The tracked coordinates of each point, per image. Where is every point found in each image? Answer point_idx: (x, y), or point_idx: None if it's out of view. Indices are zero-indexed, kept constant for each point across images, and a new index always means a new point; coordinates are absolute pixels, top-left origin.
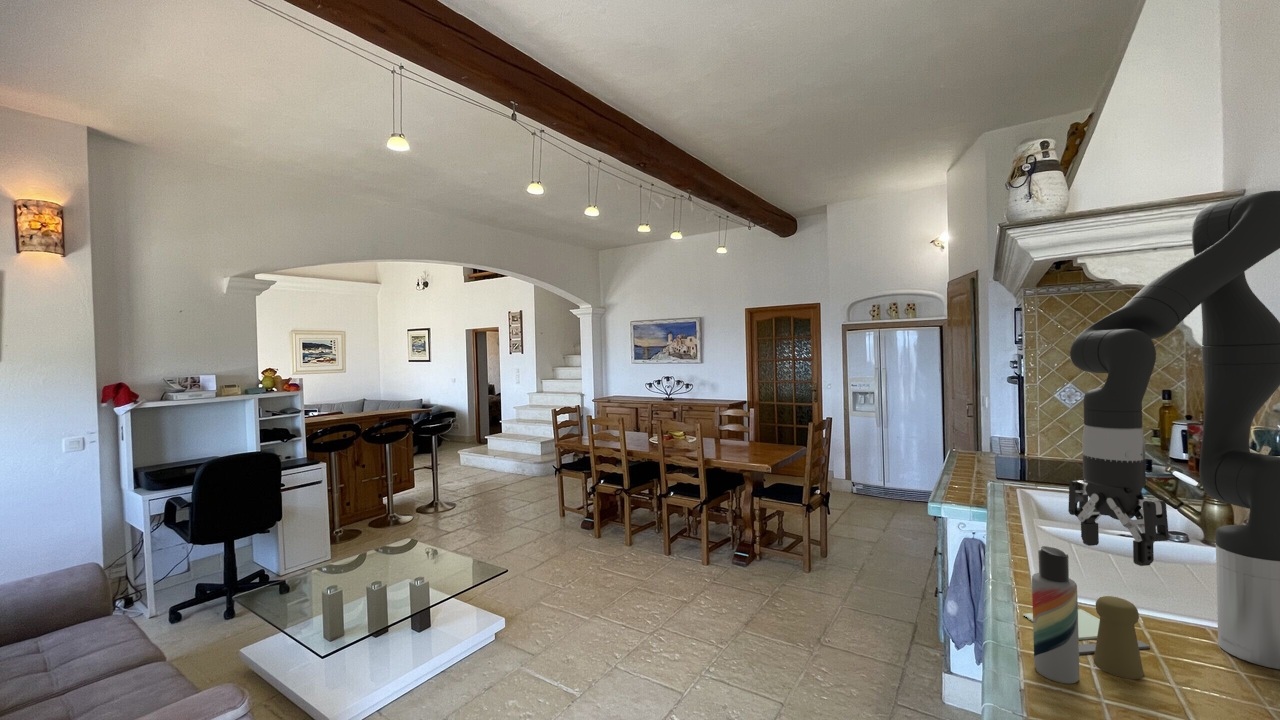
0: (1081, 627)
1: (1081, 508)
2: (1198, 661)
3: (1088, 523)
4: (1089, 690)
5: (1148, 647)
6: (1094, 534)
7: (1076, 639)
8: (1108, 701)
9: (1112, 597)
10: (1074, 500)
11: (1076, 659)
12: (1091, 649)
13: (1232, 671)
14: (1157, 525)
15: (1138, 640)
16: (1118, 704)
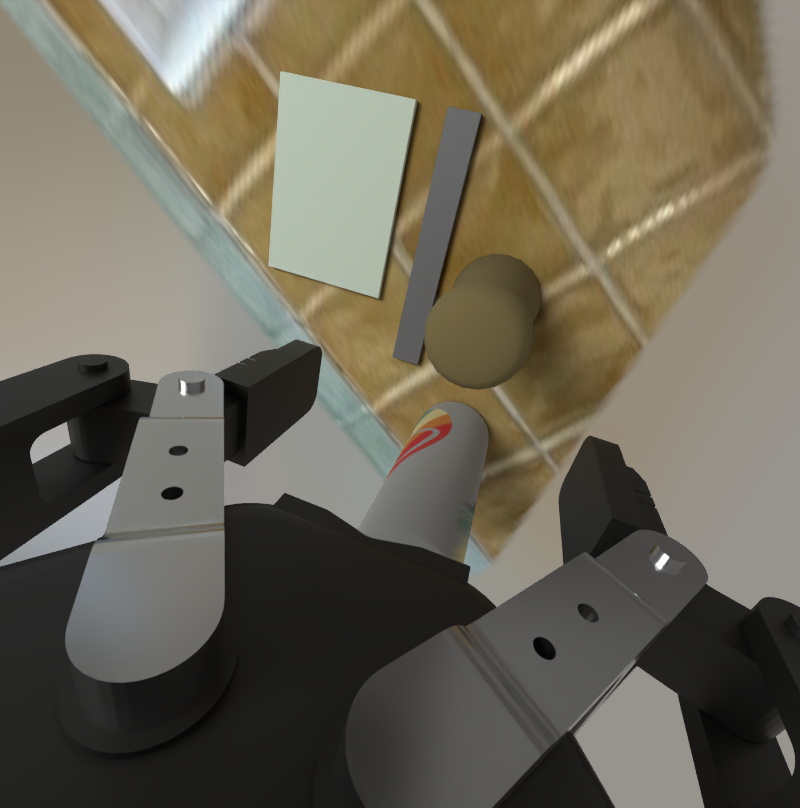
0: (354, 194)
1: (89, 421)
2: (582, 47)
3: (238, 444)
4: (513, 436)
5: (480, 119)
6: (289, 387)
7: (478, 480)
8: (548, 443)
9: (457, 339)
10: (31, 534)
11: (484, 459)
12: (430, 287)
13: (662, 3)
14: (797, 736)
15: (450, 109)
16: (562, 438)
